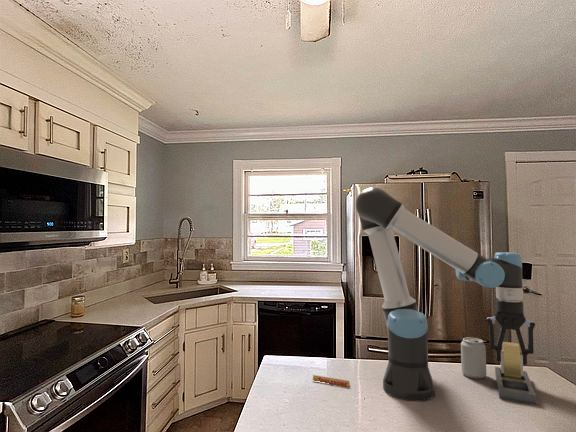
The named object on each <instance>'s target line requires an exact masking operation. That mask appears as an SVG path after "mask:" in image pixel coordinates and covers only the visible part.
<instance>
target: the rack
mask: <svg viewBox="0 0 576 432" xmlns="http://www.w3.org/2000/svg"><path fill="white" fill-rule="evenodd" d="M494 375H495V380H496V387H497V393H498V398H499V399H502V400H507V401H513V402H518V403H524V404H528V405H529V404H530V405H535V406H536V405H537V395H536V392H535V390H534V387H533V384H532V382H531V380H530V377H529V375H528V371H524V370H523V376H521V380H520V379H513V378H506V377H504V373H501V367H496V366H494Z"/></svg>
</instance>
